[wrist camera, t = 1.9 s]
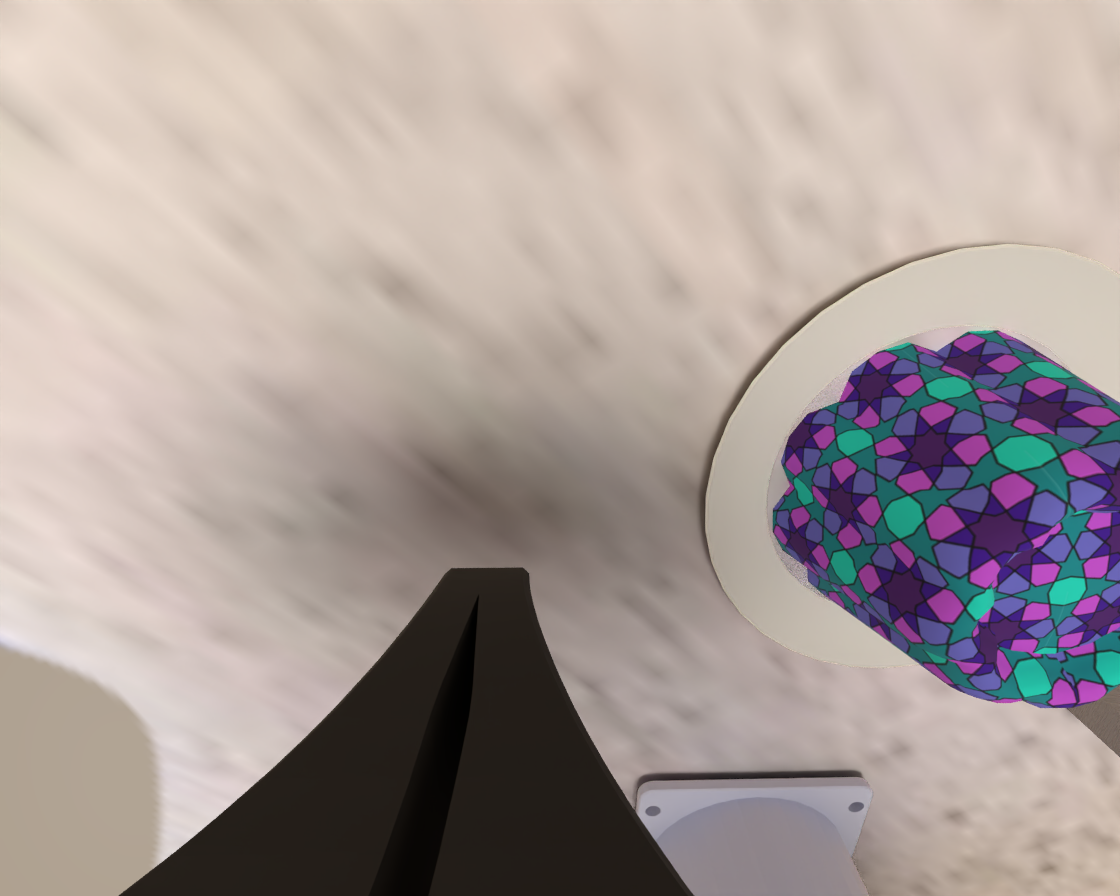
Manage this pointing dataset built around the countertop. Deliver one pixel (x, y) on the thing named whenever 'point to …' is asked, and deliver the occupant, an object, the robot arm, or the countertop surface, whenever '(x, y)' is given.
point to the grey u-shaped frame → (1103, 718)
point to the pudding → (940, 480)
